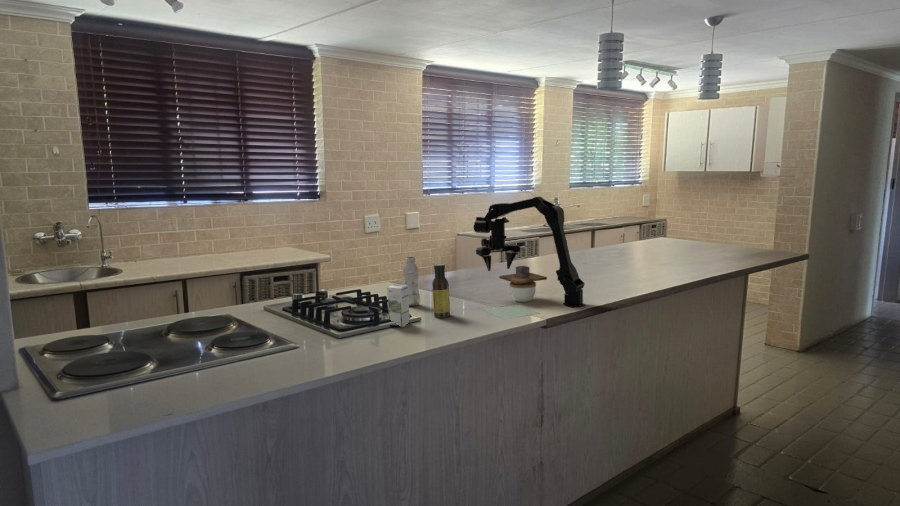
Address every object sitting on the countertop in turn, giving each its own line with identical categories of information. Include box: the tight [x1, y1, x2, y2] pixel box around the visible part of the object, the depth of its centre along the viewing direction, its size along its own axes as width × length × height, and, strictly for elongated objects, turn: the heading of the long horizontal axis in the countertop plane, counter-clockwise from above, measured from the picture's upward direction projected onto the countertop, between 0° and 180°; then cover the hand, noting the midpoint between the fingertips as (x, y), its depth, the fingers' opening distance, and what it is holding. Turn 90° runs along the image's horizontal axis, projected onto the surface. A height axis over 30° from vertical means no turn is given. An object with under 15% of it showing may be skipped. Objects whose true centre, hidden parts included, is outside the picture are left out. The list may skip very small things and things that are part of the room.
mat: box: [483, 304, 540, 320], centre depth 220 cm, size 16×16×1 cm
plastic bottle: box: [402, 256, 421, 307], centre depth 236 cm, size 6×7×20 cm
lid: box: [499, 265, 548, 284], centre depth 237 cm, size 14×14×5 cm
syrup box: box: [386, 284, 411, 328], centre depth 207 cm, size 6×6×14 cm
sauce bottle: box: [431, 263, 451, 319], centre depth 217 cm, size 6×6×20 cm
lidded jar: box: [509, 281, 537, 303], centre depth 238 cm, size 11×11×9 cm
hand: (498, 270), depth 245 cm, fingers open, 9 cm apart
